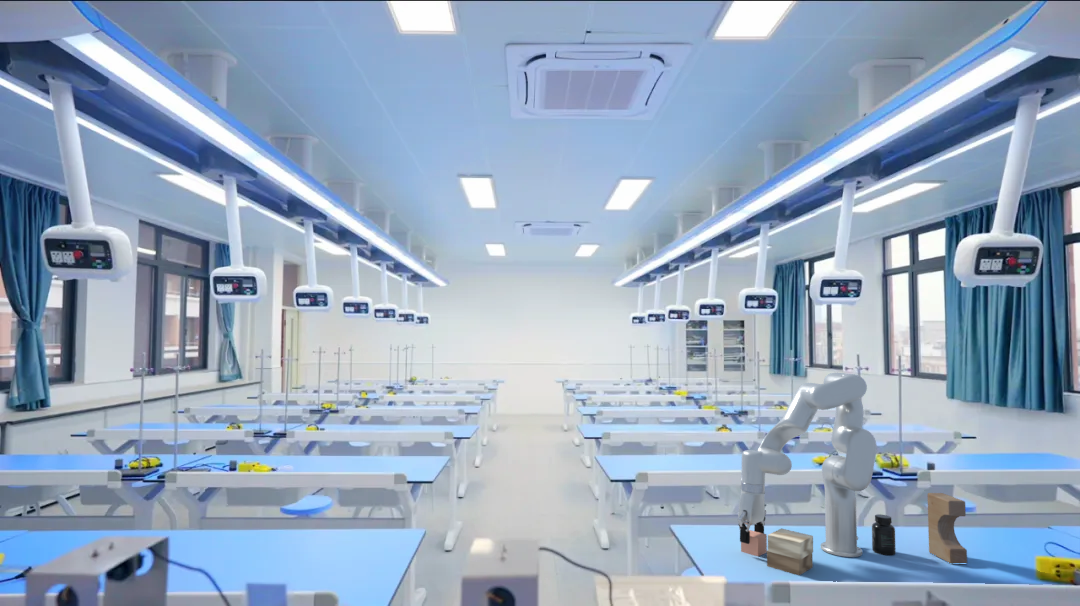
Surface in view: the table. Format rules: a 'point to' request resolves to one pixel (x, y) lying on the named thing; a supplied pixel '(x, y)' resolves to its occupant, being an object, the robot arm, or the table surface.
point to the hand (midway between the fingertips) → (752, 539)
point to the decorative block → (945, 527)
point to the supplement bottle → (883, 536)
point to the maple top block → (790, 543)
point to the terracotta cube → (755, 544)
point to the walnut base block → (789, 563)
